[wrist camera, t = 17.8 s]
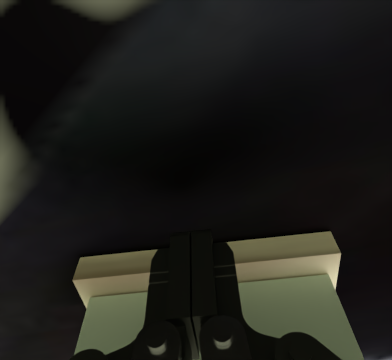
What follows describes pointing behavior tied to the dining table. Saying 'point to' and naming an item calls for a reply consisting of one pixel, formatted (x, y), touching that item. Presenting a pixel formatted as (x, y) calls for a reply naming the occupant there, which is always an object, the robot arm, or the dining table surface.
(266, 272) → the vise
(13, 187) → the dining table surface
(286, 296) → the block
